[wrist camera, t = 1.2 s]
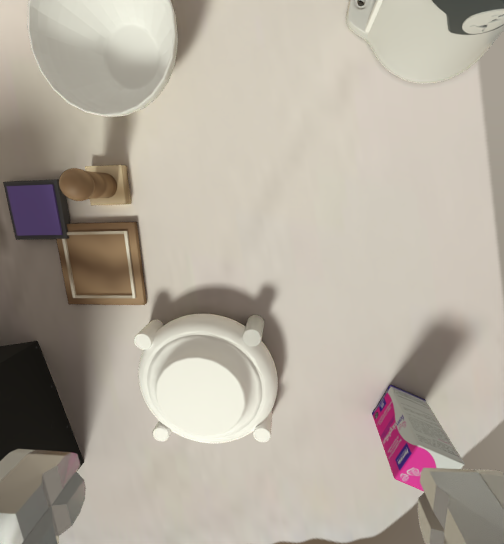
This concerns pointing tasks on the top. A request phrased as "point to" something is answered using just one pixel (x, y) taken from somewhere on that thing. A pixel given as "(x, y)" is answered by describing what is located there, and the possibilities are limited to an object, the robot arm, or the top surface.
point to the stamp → (97, 184)
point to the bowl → (104, 51)
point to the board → (102, 264)
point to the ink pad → (37, 209)
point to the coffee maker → (31, 404)
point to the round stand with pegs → (207, 378)
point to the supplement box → (412, 437)
